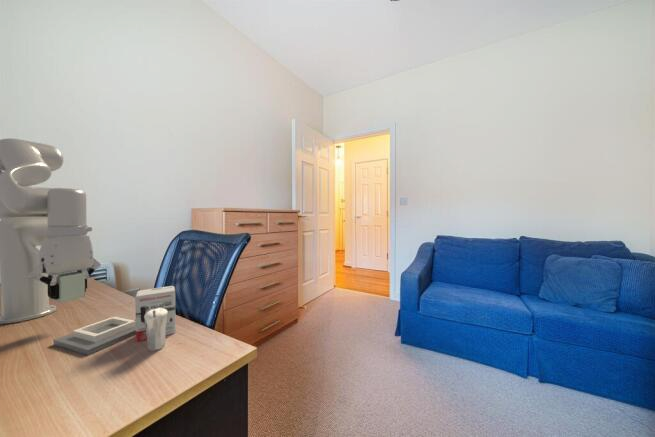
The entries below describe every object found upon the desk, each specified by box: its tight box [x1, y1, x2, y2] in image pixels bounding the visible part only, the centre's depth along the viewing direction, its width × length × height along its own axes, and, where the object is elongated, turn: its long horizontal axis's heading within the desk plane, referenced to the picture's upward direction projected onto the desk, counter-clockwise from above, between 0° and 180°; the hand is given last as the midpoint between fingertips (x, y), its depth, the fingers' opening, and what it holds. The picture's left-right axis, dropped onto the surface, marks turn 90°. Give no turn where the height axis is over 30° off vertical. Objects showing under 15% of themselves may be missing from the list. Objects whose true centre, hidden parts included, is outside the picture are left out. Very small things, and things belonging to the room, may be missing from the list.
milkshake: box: [144, 308, 168, 352], centre depth 57 cm, size 4×5×10 cm
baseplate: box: [53, 316, 136, 356], centre depth 63 cm, size 14×14×3 cm
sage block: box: [50, 271, 86, 303], centre depth 69 cm, size 5×5×7 cm
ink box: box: [134, 285, 176, 343], centre depth 64 cm, size 8×5×12 cm, turn 123°
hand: (68, 294), depth 69 cm, fingers closed on sage block, 5 cm apart
